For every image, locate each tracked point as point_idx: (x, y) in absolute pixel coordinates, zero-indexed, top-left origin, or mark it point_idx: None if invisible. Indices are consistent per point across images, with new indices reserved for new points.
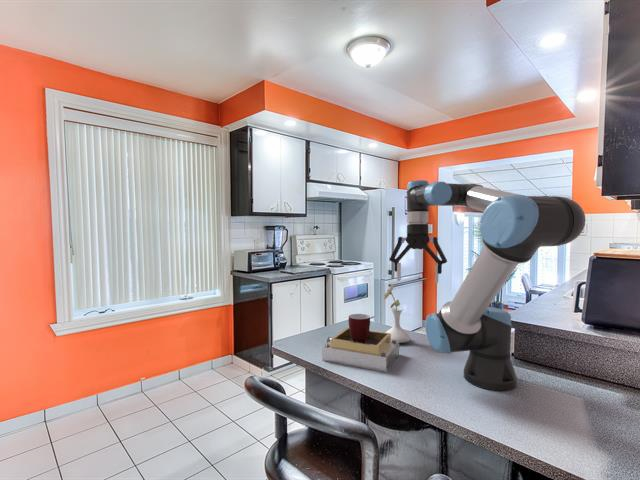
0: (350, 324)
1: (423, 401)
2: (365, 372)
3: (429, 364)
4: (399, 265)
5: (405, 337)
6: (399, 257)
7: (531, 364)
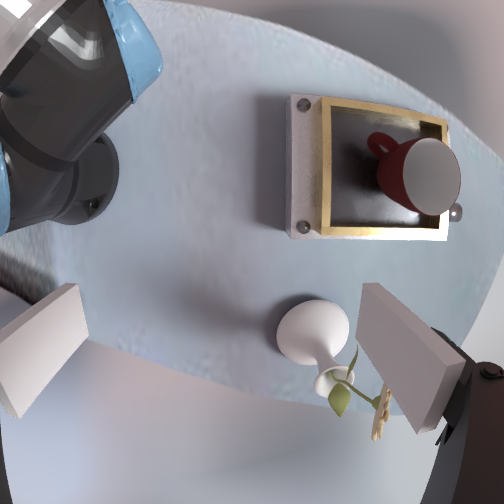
0: (436, 149)
1: (184, 22)
2: (328, 87)
3: (197, 197)
4: (426, 369)
5: (287, 323)
6: (488, 422)
7: (34, 296)
